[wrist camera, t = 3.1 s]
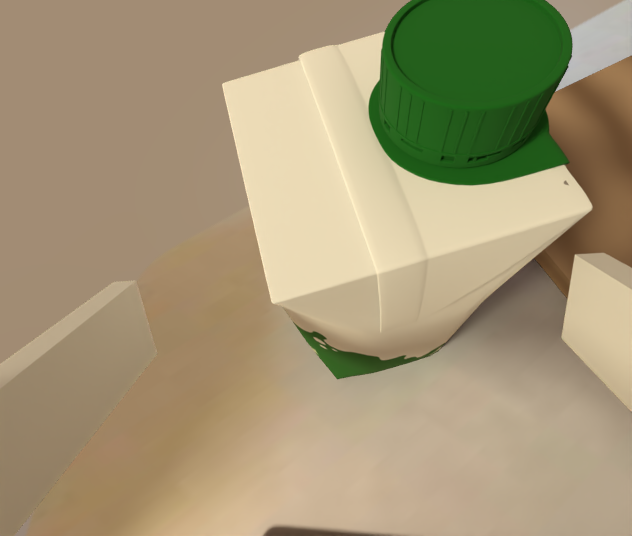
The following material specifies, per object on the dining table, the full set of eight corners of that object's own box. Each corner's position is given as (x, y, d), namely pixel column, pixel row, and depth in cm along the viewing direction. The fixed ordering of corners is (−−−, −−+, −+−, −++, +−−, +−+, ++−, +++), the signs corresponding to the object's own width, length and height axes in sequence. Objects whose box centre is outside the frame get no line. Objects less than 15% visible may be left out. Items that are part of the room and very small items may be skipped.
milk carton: (459, 358, 25) (715, 163, 7) (325, 398, 25) (210, 312, 7) (411, 243, 28) (490, -93, 10) (294, 277, 28) (162, 6, 10)
